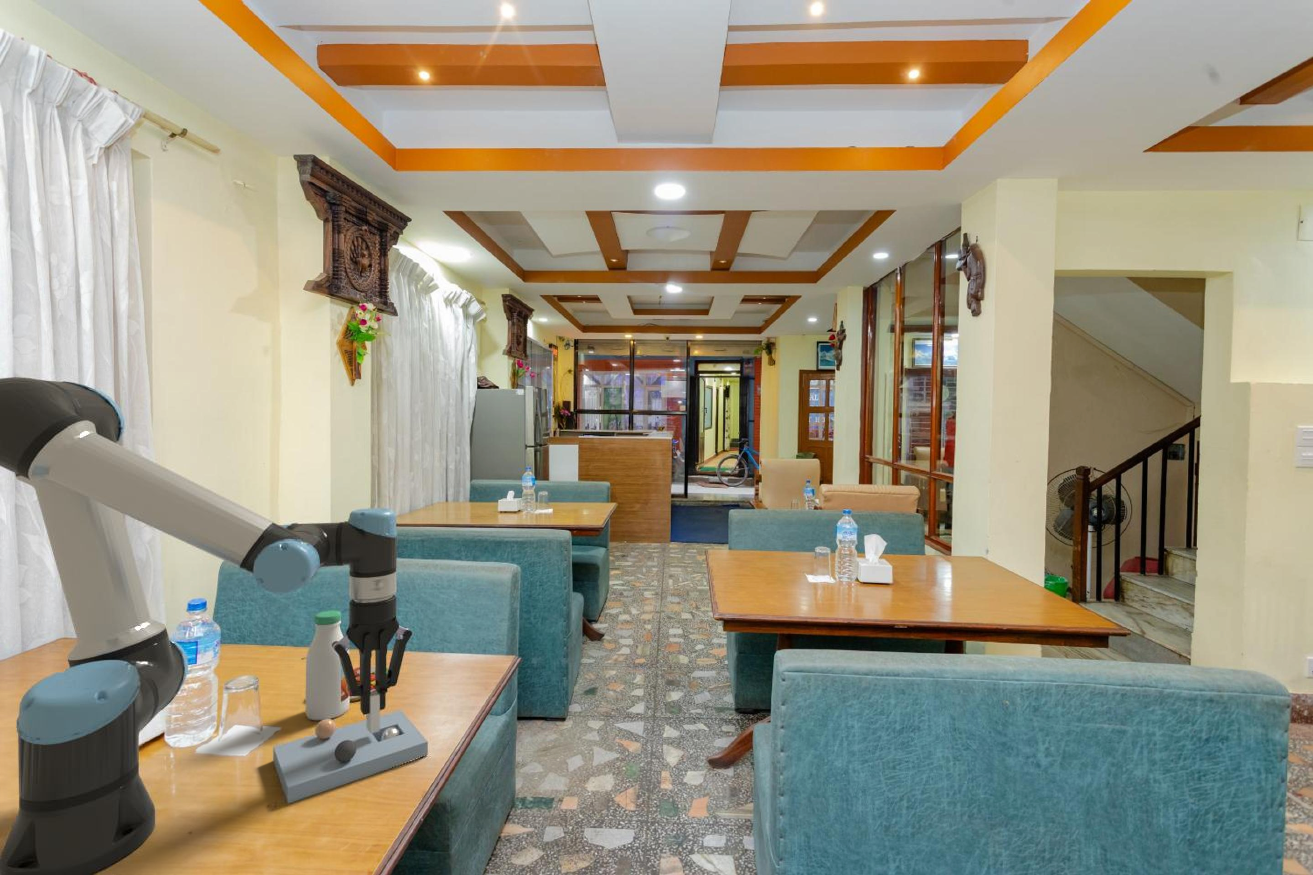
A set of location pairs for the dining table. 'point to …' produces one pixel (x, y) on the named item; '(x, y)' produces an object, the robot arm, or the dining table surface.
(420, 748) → the board
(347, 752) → the black ball
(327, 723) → the terracotta ball
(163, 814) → the dining table surface
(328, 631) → the milk bottle
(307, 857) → the dining table surface
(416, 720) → the dining table surface
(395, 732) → the steel ball
